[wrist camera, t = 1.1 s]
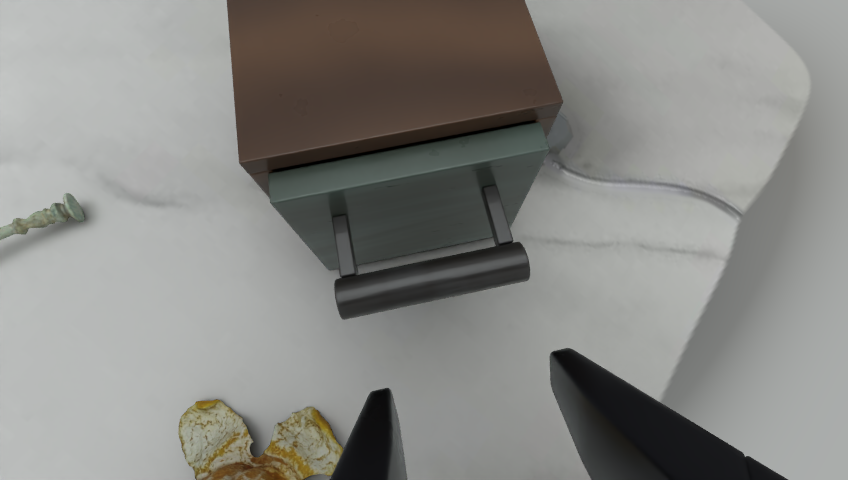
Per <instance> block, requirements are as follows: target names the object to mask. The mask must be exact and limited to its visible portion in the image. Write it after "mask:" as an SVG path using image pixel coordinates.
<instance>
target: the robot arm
mask: <svg viewBox="0 0 848 480" xmlns="http://www.w3.org/2000/svg"><path fill="white" fill-rule="evenodd" d="M550 381H551V387H552V390H553V393H554V395H555V398H556V400H557V403H558V405H559V408H560V410H561V412H562V415H563V417H564V420H565V422H566V424H567V427H568V429H569V432H570V434H571V436H572V439H573V441H574V444H575V446H576V448H577V451H578V453H579V455H580V458H581V460H582V462H583V464H584V466H585V468H586V470H587V472H588V474H589V476H590V478H591V480H788V479H786V478H784V477H783V476H781V475H779V474H778V473H776V472H774V471H772V470H771V469H769V468H768V467H766V466H764V465H762V464H761V463H759V462H758V461H756V460H754V459H753V458H751V457H749V456H746V457H745V456H744V454H743V453H742V452H741V451H739V450H737V449H736V448H734V447H733V446H731V445H729V444H728V443H726V442H724V441H723V440H721V439H719V438H718V437H716V436H715V435H713V434H711V433H710V432H708V431H706V430H705V429H703V428H701V427H700V426H698V425H696V424H695V423H693V422H691V421H690V420H688V419H686V418H685V417H683V416H681V415H680V414H678V413H676V412H675V411H673V410H672V409H670V408H668V407H667V406H665V405H663V404H662V403H660V402H658V401H657V400H655V399H654V398H652V397H650V396H649V395H647V394H645V393H644V392H642V391H640V390H639V389H637V388H635V387H634V386H632V385H630V384H629V383H627V382H626V381H624V380H622V379H621V378H619V377H617V376H616V375H614V374H612V373H611V372H609V371H607V370H606V369H604V368H602V367H601V366H599V365H597V364H596V363H594V362H593V361H591V360H589V359H588V358H586V357H584V356H583V355H581V354H579V353H578V352H576V351H574V350H573V349H570V348H566V349H561V350H557V351H553V352H552V353H551V354H550ZM330 480H407V473H406V466H405V459H404V452H403V445H402V438H401V430H400V424H399V419H398V414H397V411H396V407H395V403H394V399H393V395H392V392H391V390H390V389H389V388H385V389H380V390H376V391H372V392H371V393H370V394H369V396H368V398H367V400H366V402H365V404H364V407H363V409H362V411H361V413H360V415H359V417H358V420H357V422H356V424H355V426H354V428H353V430H352V433H351V435H350V437H349V439H348V441H347V443H346V446H345V448H344V450H343V452H342V454H341V456H340V459H339V461H338V463H337V465H336V467H335V469H334V472H333V474H332V476H331V478H330Z"/></svg>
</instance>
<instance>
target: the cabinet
mask: <svg viewBox="0 0 848 480" xmlns="http://www.w3.org/2000/svg"><path fill="white" fill-rule="evenodd" d="M227 9H228V22H229V35H230V48H231V62H232V75H233V88H234V101H235V114H236V128H237V141H238V154H239V163H240V165H241V166H242V167H243V168H244V169H245V170H246V172H247V173H248V174H250V176H251V177H252V178H253V179H254V181H255V182H256V183H257V184H258V185H259V186H260V188H261V189H262V190H263V191H264V192H265V193H266V195H267V196H268V197H269V198H270V193H269V183H268V174H269V173H275V172H280V171H285V170H290V169H296V168H301V166H300V164H305V163H310V162H315V161H320V160H326V159H331V158H336V157H341V156H347V155H352V154H357V153H362V152H368V151H373V150H378V149H383V148H389V147H394V146H399V145H404V144H410V143H415V142H420V141H425V140H431V139H436V138H441V137H446V136H452V135H457V134H462V133H467V132H473V131H478V130H483V129H488V128H494V127H499V126H502V129H505V128H510V127H516V126H521V125H526V124H531V123H536V122H540V123H541V126H542V129H543V131H544V134H545V137H546V138H547V136H548V134H549V132H550V130H551V127H552V125H553V123H554V121H555V119H556V117H557V114H558V112H559V110H560V108H561V106H562V104H563V100H562V97H561V94H560V92H559V89H558V87H557V84H556V81H555V79H554V76H553V74H552V71H551V68H550V66H549V63H548V60H547V58H546V55H545V53H544V50H543V47H542V45H541V42H540V40H539V37H538V34H537V32H536V29H535V26H534V24H533V21H532V19H531V16H530V13H529V11H528V8H527V5H526V3H525V0H227Z"/></svg>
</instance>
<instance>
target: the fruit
mask: <svg viewBox="0 0 848 480" xmlns="http://www.w3.org/2000/svg"><path fill="white" fill-rule="evenodd" d="M242 419H243V418H242V417H240V416H238V415H237V414H236V413H234V412H233V411H232V410H231V408H229V407H227V406H225V405H224V404H223V402H222V401H220V400H217V399H216V400H213V401H198V402H196V403H195V404H194V405H193V406H192V407H190V408H188V409H187V411H186V412H185V413H184V414H183V415H182V417H181V419H180V423H179V431H178V433H179V438H180V440H181V443H182V450H183V452H184V454H185V459H186V461H187V462H188V464H189V466H191V467H192V468H193V469H194V471H195V478H196V480H304V479H306V478H307V477H309V476H311V475H315V474H325V475H327V476H332V474H333V472H334V469H335V467H336V465H337V463H338V461H339V459H340V456H341V454H342V452H343V447H341V445H340V444H338V443H337V442H336V438H335V437H334V435H333V433H332V429H331V428H330V425H329V423H328V422H327V421H326V420H325V419H324V418H323V417H322V416H321V415H320V413H319V411H318V410H315V408H314V407H307V408H305V409H303V410H302V411H300V412H296V413H292V415H291V416H290V418H289V419H288V420H286V421H285V422H282V423H278V424H276V425H275V429H274V433H273V436H272V439H271V443H270V446H269V447H268V448H267V449H266V450H265V451H264V453H263V454H262V455H261V456H260V457H254V456H252V455H251V453H250V444H251V443H252V442H253V440H252V439H251V437H250V435H249V434H248V430H247V427H246V425H245V424H244V423H243V421H242Z"/></svg>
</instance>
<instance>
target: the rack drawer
mask: <svg viewBox="0 0 848 480" xmlns="http://www.w3.org/2000/svg"><path fill="white" fill-rule="evenodd" d="M548 152H549V146H548V143H547V140H546V137H545V134H544V131H543V129H542V126H541V123H540V122H536V123H531V124H526V125H521V126H516V127H510V128H505V129H502V126H499V127H494V128H488V129H483V130H478V131H473V132H467V133H462V134H457V135H452V136H446V137H441V138H436V139H431V140H425V141H420V142H415V143H410V144H404V145H399V146H394V147H389V148H383V149H378V150H373V151H368V152H362V153H357V154H352V155H347V156H341V157H336V158H331V159H326V160H320V161H315V162H310V163H305V164H300V166H301V168H296V169H290V170H285V171H280V172H275V173H269V174H268V183H269V193H270V203H271V204H272V205H273V207H274V208H275V209H276V210H277V211H278V212H279V213H280V215H281V216H282V217H283V218H284V219H285V220H286V222H287V223H288V224H289V225H290V226H291V227H292V228H293V230H294V231H295V232H296V233H297V234H298V235H299V237H300V238H301V239H302V240H303V241H304V242H305V244H306V245H307V246H308V247H309V248H310V249H311V250H312V252H313V253H314V254H315V255H316V256H317V257H318V259H319V260H320V261H321V262H322V263H323V264H324V265H325V267H326V268H327V269H328V270H334V269H339V271H340V276H341V278H340V279H336V280H335V284H334V289H335V298H336V303H337V307H338V311H339V314H340V316H341V318H342V319H343V320H345V319H349V318H354V317H359V316H364V315H368V314H373V313H378V312H382V311H387V310H392V309H397V308H401V307H406V306H411V305H415V304H420V303H425V302H430V301H434V300H439V299H444V298H449V297H453V296H458V295H463V294H467V293H472V292H477V291H482V290H486V289H491V288H496V287H500V286H505V285H510V284H515V283H519V282H524V281H527V280H529V277H530V266H529V261H528V257H527V254H526V251H525V249H524V247H523V245H522V244H521V243H520V242H515V243H512V242H513V238H512V234H511V231H510V227H511V225H512V223H513V221H514V219H515V217H516V215H517V213H518V211H519V209H520V207H521V205H522V203H523V201H524V199H525V197H526V195H527V193H528V191H529V189H530V187H531V185H532V183H533V181H534V179H535V177H536V175H537V173H538V171H539V169H540V167H541V165H542V163H543V161H544V159H545V157H546V155H547V153H548ZM490 237H493V238H494V241H495V245H496V246H495V247H490V248H486V249H481V250H476V251H471V252H466V253H461V254H457V255H452V256H447V257H442V258H437V259H432V260H428V261H423V262H418V263H413V264H408V265H403V266H398V267H394V268H389V269H384V270H379V271H374V272H369V273H365V274H360V275H358V271H357V265H358V264H363V263H368V262H373V261H378V260H383V259H388V258H392V257H397V256H402V255H407V254H412V253H417V252H422V251H427V250H431V249H436V248H441V247H446V246H451V245H456V244H461V243H466V242H470V241H475V240H480V239H485V238H490Z"/></svg>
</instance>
